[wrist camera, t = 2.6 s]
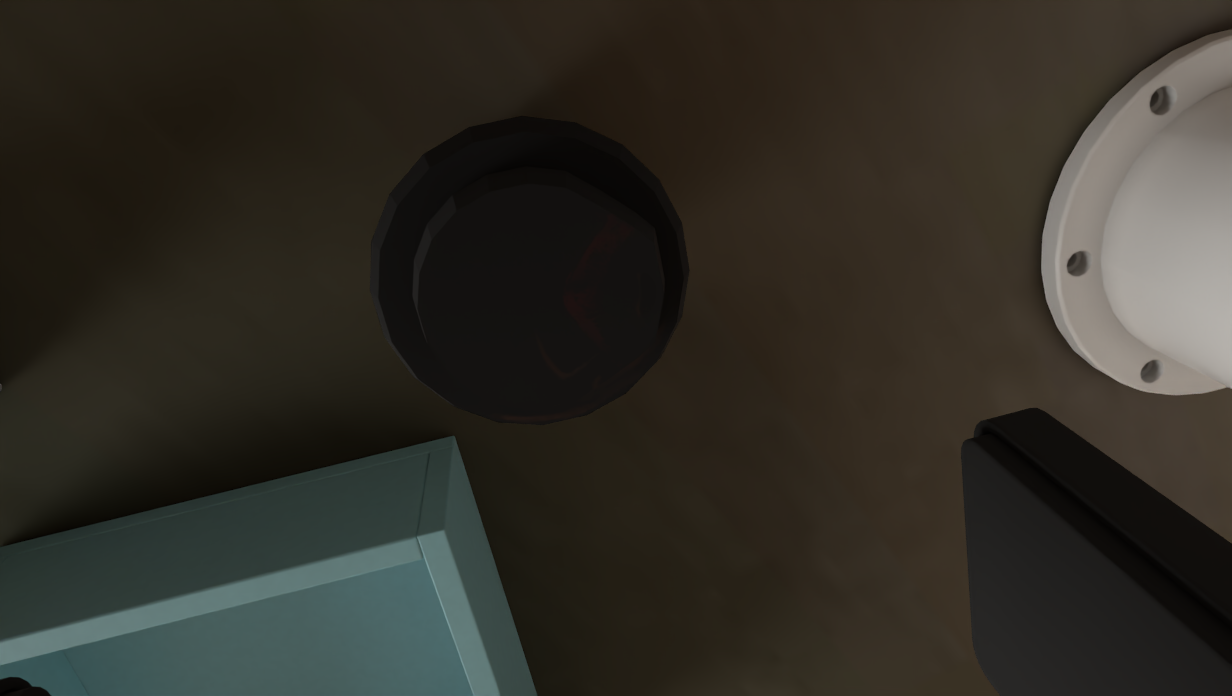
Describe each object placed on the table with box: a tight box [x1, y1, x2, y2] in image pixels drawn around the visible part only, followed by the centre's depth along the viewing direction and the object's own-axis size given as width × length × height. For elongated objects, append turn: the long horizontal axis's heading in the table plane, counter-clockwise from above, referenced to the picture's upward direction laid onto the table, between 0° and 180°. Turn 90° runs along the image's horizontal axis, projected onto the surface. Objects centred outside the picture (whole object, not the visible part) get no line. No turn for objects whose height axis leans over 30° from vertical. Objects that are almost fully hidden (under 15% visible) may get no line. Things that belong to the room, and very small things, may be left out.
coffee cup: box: [370, 116, 689, 425], centre depth 22 cm, size 7×7×10 cm
